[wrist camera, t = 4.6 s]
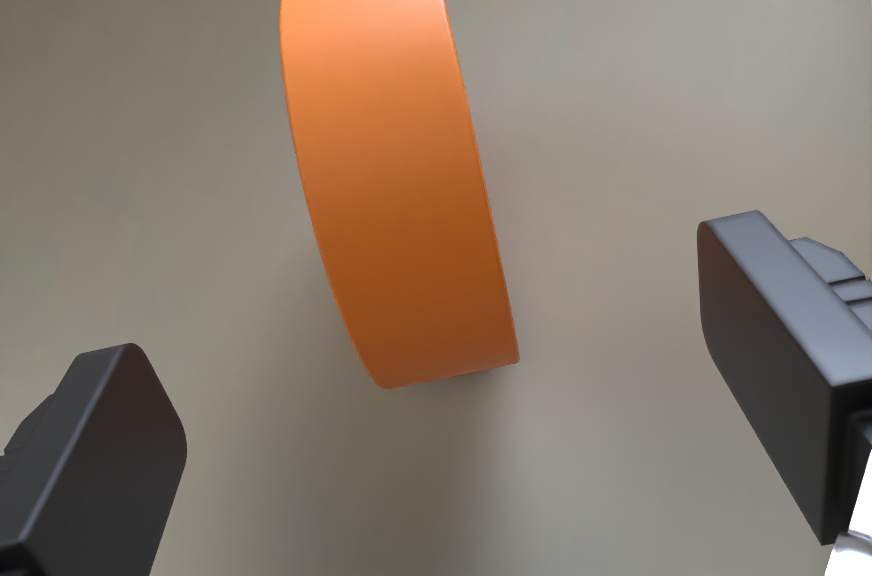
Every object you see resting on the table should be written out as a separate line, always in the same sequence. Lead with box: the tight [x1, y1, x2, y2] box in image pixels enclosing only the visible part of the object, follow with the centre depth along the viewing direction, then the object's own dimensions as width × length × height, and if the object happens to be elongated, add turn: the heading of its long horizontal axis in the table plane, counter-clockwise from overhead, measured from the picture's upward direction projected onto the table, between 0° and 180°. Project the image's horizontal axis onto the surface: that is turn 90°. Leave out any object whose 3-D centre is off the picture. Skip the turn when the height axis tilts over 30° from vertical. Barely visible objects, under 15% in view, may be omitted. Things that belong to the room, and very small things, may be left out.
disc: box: [279, 0, 519, 390], centre depth 17 cm, size 9×3×9 cm, turn 11°
